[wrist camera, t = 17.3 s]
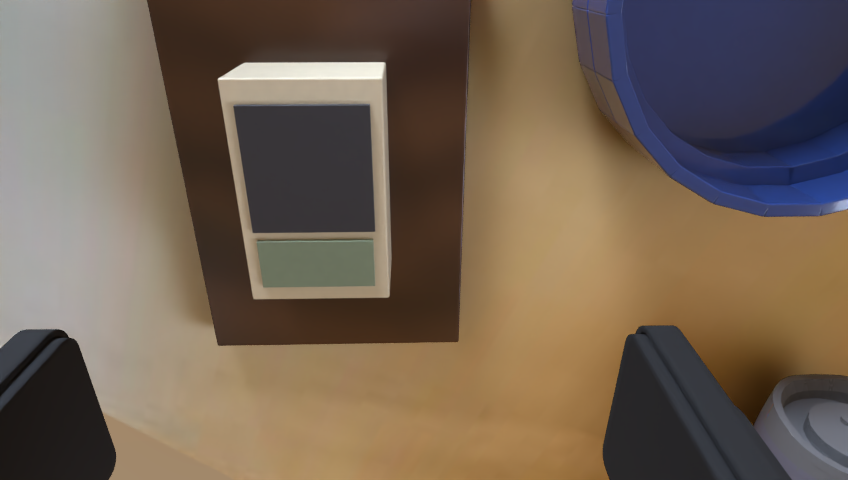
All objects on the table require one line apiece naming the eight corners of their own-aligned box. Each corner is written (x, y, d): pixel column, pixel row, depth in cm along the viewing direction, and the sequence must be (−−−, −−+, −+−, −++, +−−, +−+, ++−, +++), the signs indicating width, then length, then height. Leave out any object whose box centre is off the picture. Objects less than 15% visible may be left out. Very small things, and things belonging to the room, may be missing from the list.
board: (145, -82, 22) (128, -85, 21) (470, -80, 22) (474, -83, 21) (225, 329, 31) (217, 346, 30) (456, 326, 31) (458, 342, 30)
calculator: (243, 62, 23) (214, 78, 20) (385, 61, 23) (382, 78, 20) (270, 260, 27) (251, 302, 24) (391, 259, 28) (389, 300, 24)
